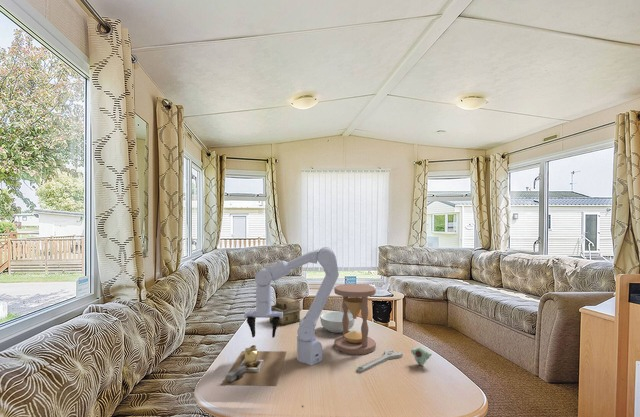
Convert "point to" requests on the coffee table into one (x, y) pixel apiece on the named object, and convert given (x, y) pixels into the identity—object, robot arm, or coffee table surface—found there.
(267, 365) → the tan wooden flat board
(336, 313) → the cereal bowl
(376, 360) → the adjustable wrench
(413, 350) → the robot head
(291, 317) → the miniature house
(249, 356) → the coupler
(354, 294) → the hourglass
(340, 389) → the coffee table surface
